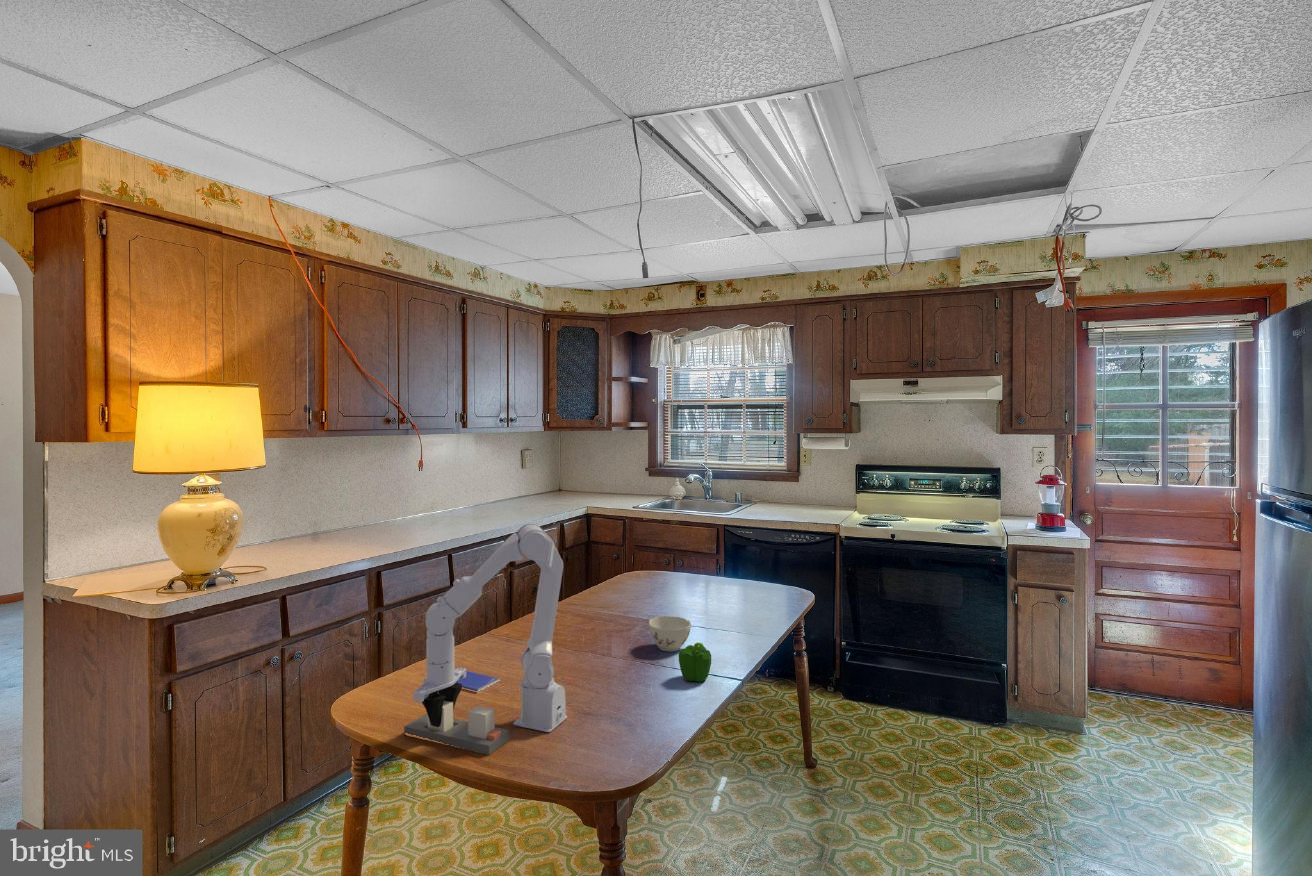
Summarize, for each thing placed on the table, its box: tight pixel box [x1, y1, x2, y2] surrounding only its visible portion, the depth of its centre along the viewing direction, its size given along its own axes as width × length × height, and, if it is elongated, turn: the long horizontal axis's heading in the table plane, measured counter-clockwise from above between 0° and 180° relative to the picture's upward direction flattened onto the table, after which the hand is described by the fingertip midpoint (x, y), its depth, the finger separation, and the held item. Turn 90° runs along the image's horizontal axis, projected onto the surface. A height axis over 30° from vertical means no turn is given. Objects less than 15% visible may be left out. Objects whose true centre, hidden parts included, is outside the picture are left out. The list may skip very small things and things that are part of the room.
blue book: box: [457, 670, 501, 692], centre depth 170 cm, size 2×8×12 cm
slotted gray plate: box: [403, 705, 510, 756], centre depth 141 cm, size 22×7×7 cm, turn 68°
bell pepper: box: [678, 641, 712, 683], centre depth 172 cm, size 8×8×10 cm
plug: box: [427, 701, 454, 732], centre depth 142 cm, size 4×3×6 cm
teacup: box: [648, 615, 692, 653], centre depth 196 cm, size 15×12×8 cm
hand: (441, 721), depth 142 cm, fingers open, 3 cm apart
